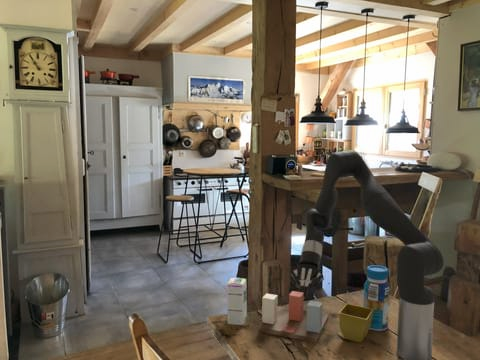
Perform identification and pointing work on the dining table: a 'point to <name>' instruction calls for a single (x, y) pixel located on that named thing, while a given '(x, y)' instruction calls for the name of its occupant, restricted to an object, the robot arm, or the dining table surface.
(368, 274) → the beverage bottle
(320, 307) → the grey rectangular block
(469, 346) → the dining table surface
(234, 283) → the syrup box
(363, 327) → the flower pot
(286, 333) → the brown wooden board
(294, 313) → the red rectangular block
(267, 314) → the cream rectangular block
